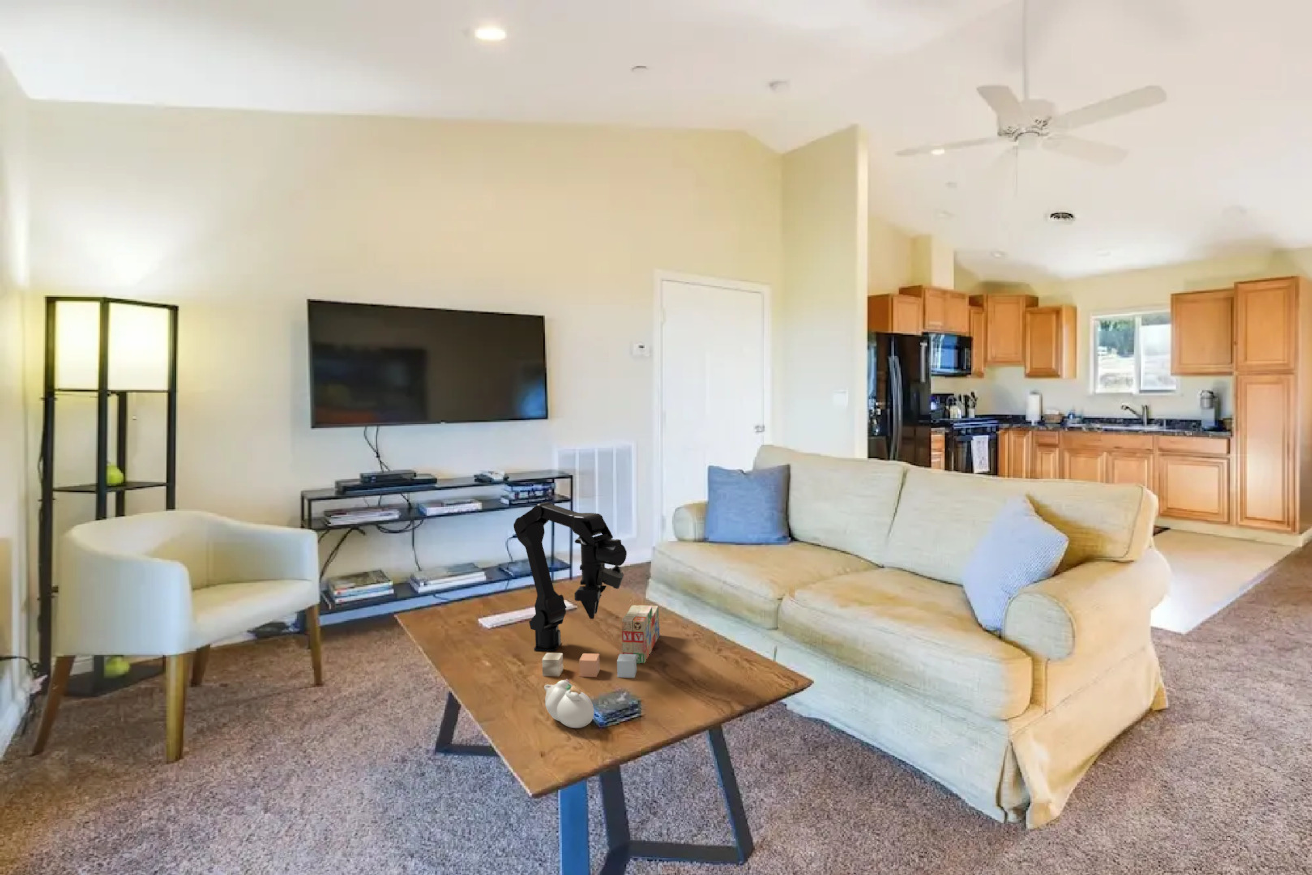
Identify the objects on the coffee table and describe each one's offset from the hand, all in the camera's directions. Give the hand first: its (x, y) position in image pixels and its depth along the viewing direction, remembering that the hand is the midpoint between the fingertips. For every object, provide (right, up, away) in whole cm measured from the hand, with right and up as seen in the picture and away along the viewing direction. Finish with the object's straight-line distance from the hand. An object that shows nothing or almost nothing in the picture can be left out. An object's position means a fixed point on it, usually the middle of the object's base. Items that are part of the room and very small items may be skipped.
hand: (593, 616), depth 183 cm
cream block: (-10, -14, -5) cm, 18 cm away
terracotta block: (0, -14, -6) cm, 15 cm away
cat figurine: (-3, -16, -31) cm, 35 cm away
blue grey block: (+10, -14, -7) cm, 18 cm away
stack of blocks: (+13, -12, +10) cm, 21 cm away
